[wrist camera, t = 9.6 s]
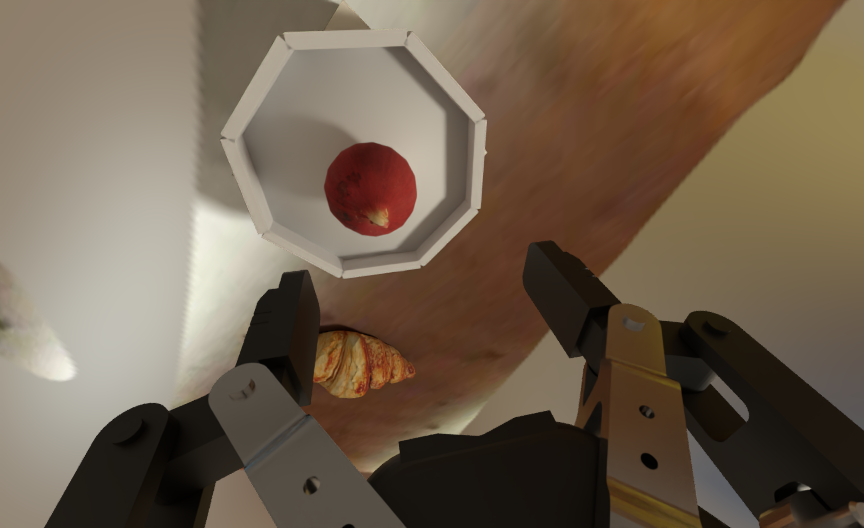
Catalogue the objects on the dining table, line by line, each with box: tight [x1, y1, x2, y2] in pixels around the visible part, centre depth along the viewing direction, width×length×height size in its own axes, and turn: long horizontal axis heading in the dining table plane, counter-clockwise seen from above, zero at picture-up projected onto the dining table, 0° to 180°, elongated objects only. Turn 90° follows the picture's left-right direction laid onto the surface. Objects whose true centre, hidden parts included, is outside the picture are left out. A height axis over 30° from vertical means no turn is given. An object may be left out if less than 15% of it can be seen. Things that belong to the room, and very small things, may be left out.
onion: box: [324, 142, 417, 237], centre depth 20 cm, size 6×6×8 cm
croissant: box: [313, 331, 415, 398], centre depth 44 cm, size 21×10×8 cm, turn 64°
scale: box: [220, 0, 487, 279], centre depth 26 cm, size 17×17×9 cm
